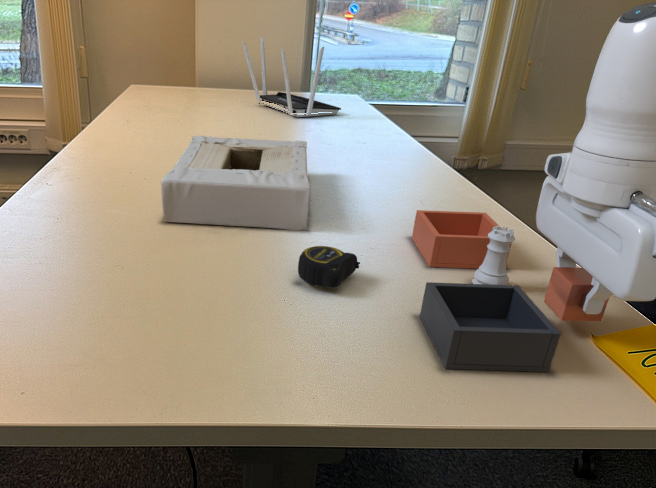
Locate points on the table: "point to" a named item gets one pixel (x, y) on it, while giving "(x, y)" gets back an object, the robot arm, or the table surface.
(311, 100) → the wireless router
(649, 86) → the robot arm
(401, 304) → the table surface
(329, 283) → the tape measure
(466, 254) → the terracotta bin
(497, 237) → the rook chess piece
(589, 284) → the terracotta block
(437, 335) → the charcoal bin
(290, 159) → the box
